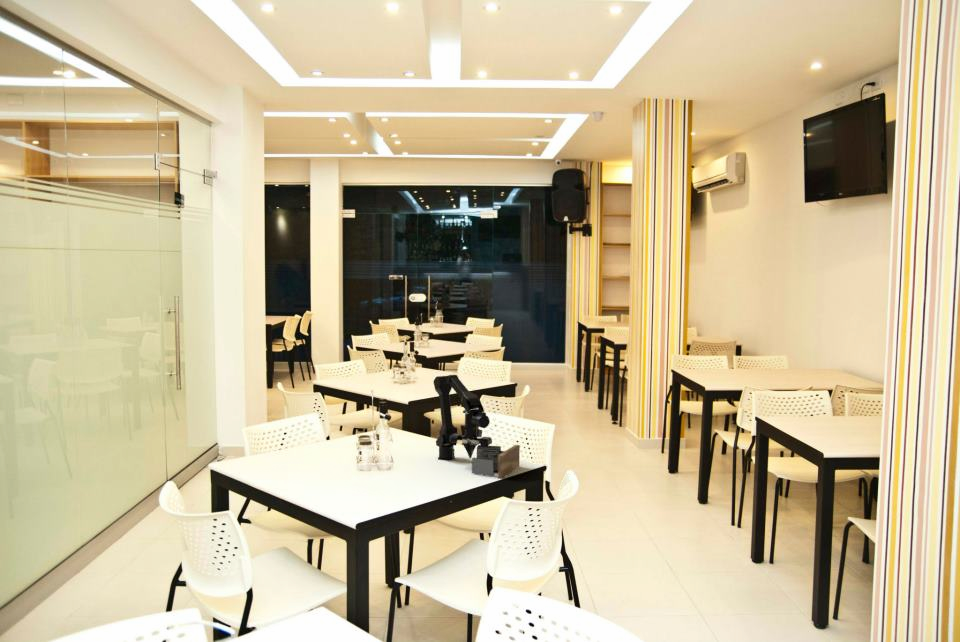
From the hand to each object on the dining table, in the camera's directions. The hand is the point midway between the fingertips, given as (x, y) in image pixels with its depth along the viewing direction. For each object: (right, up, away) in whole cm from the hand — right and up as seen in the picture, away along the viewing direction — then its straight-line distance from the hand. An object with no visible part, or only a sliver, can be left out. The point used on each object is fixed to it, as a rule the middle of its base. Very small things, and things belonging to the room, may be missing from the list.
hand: (470, 458), depth 315 cm
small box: (+8, -5, -3) cm, 10 cm away
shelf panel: (+17, -5, -7) cm, 19 cm away
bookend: (+6, -5, -11) cm, 14 cm away
